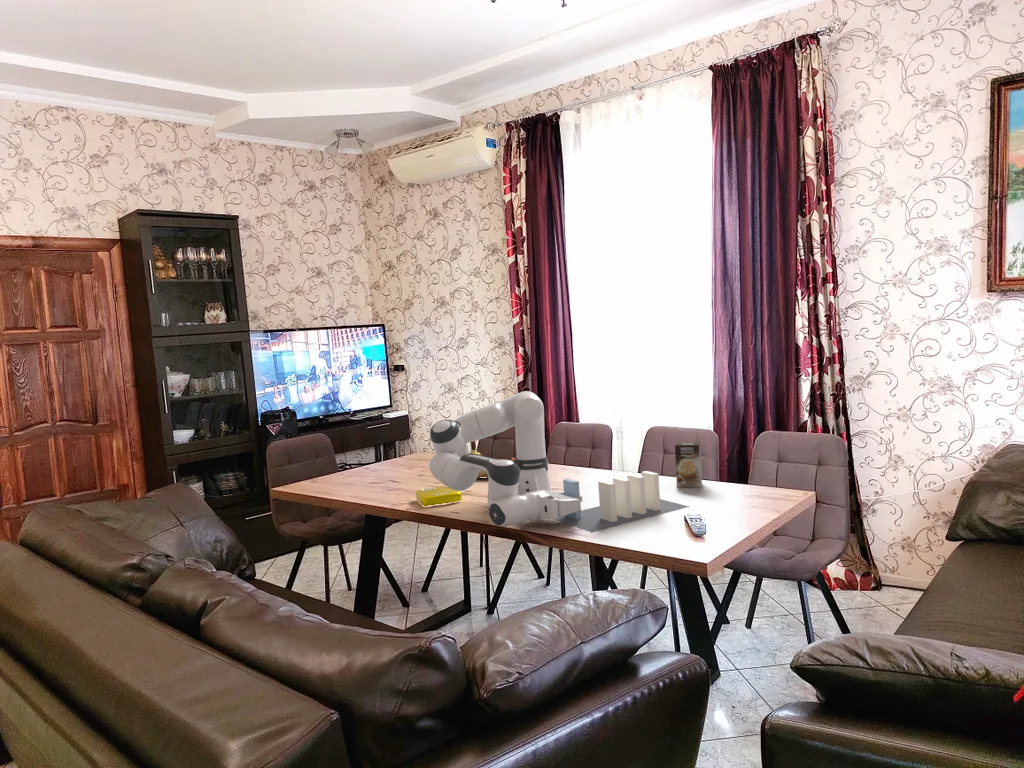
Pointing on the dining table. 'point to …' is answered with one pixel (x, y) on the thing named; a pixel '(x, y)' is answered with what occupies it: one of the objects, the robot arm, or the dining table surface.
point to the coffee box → (688, 464)
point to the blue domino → (572, 494)
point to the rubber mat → (594, 522)
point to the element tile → (437, 495)
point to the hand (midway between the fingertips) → (574, 496)
